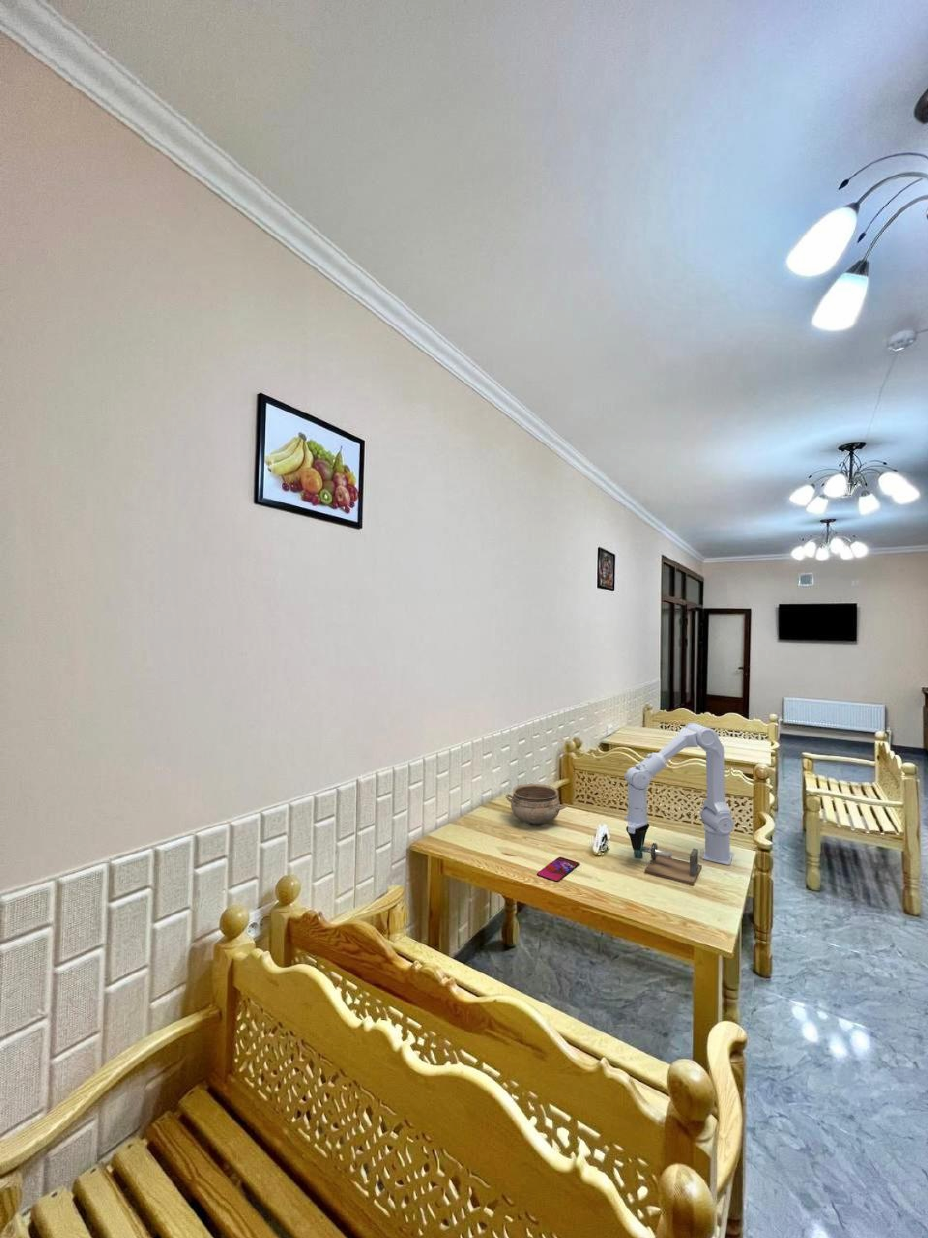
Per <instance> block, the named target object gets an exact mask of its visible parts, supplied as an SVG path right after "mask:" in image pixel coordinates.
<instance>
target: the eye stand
mask: <svg viewBox="0 0 928 1238" xmlns="http://www.w3.org/2000/svg"><path fill="white" fill-rule="evenodd" d="M698 854H699V853H698V849H697V848H694V847H693V849H692V850H691V853H690V854H689V861H688V860H687V861H686V860H681V859H678V858H674V857H671V858H667V857H663V856H659V855H657V858H656V860H652V859H651V860H650V861H649V862H648V863H647V865H646V867H645V869H644V874H647V875H650V876H652V877H653V876H654V877H658V878H661V879H664V880H669V881H673V882H677V883H680V884H683V885H688V886H692V887H694V886H695V883H696V882H697V879H698V878H699V874H700V872H701V871H702V864H699V863H698V862H699V858H698V857H699V855H698Z"/></svg>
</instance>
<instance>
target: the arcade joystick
mask: <svg viewBox="0 0 928 1238" xmlns="http://www.w3.org/2000/svg"><path fill="white" fill-rule="evenodd" d="M643 853H647V854H650V859H651V860H656V858H657V855H659V856H663V857H667V858H672V852H669V851H664V850H660V849H658V844H657V843H655V842H653V843H652V844H651V847H647V846H644V845H643V846H642V843H641V849H640V851H637V850H633V858H635V859H637V860H642V859H643V857H644V855H643Z"/></svg>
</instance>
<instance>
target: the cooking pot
mask: <svg viewBox="0 0 928 1238" xmlns="http://www.w3.org/2000/svg"><path fill="white" fill-rule="evenodd" d="M512 792H513V794H512V795H511V794H506V796H505V798H506V800H507V801H508V802H509V803H510V808H511V810H512V812H513V814H514V815H515V817H517V819H519V820H520V821H522V822H525V823H526V824H527V825H529V826H533V827H534V826H535V827H538V826H539V827H541V826H543V825H545V824H548V823H549V822H551V821H554V819H555V818H557V817H558V815H559V813H560V812H561V810H564V809H566V808H567V807H568V806H567V804H560V803H561V802H560V800H559V796H558V795H559V790H558V789H556V788H555V787H552V786H550V785H547V784H546V785H545V784H540V783H539V784H538V783H527V784H521V785H517V786H516V787H513V788H512Z"/></svg>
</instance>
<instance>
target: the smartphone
mask: <svg viewBox="0 0 928 1238" xmlns="http://www.w3.org/2000/svg"><path fill="white" fill-rule="evenodd" d="M579 866H580V862H578V861H576V860H573V859H569V858H567V857H563V856H558V857H557V858H555V859H553V860H552V861H551V862H550V863H548V864H547V865H546V866H545V867H543V868H542V869H541V870H539V871H538V872H537V873H536V876H538V877H539V878H543V879H545V880H548V881H551V882H554V883H560V882H561V881H562V880H563V879H564V878H566V877H567V876H568V875H569V874H571V873H572V872H573V871H574V870H576V869H577V868H578V867H579Z"/></svg>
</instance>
